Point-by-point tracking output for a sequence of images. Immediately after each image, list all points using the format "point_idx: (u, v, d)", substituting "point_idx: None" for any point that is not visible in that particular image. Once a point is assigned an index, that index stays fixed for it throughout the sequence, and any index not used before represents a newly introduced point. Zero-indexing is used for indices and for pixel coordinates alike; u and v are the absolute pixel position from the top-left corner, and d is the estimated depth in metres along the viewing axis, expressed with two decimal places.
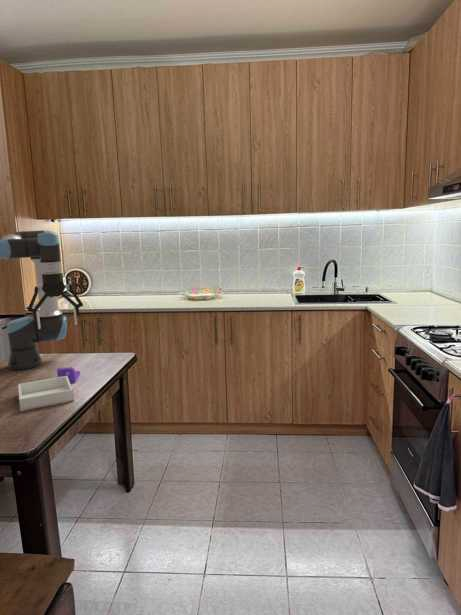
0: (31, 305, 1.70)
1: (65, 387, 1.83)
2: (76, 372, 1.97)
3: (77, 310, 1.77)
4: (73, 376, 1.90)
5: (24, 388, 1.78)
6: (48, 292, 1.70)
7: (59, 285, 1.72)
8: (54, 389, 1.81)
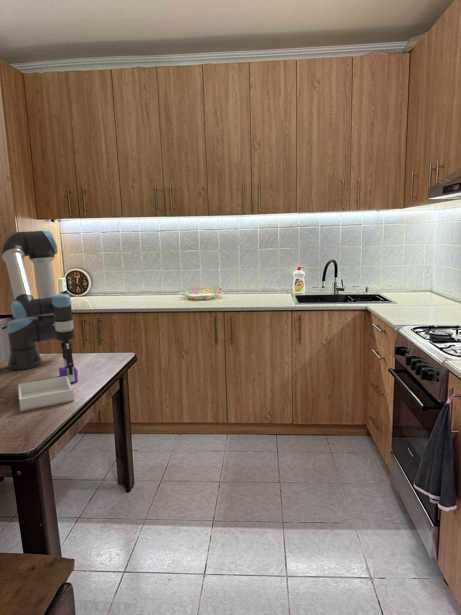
0: (62, 352, 2.01)
1: (65, 387, 1.83)
2: None
3: (68, 369, 1.87)
4: (75, 375, 1.90)
5: (24, 388, 1.78)
6: (61, 345, 1.94)
7: (63, 342, 1.90)
8: (54, 389, 1.81)
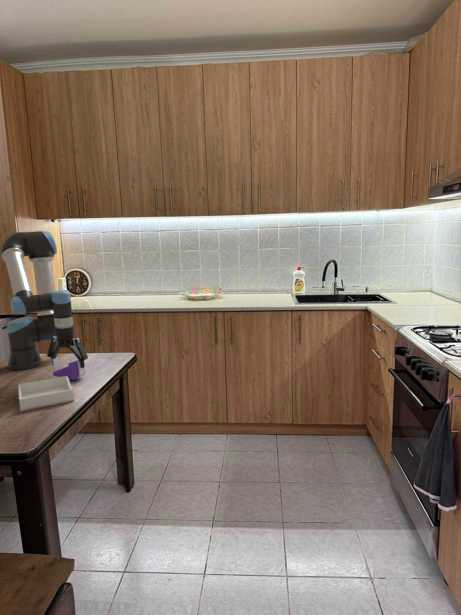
0: (49, 352, 1.95)
1: (65, 387, 1.83)
2: None
3: (81, 363, 1.91)
4: None
5: (24, 388, 1.78)
6: (59, 343, 1.92)
7: (67, 338, 1.91)
8: (54, 389, 1.81)
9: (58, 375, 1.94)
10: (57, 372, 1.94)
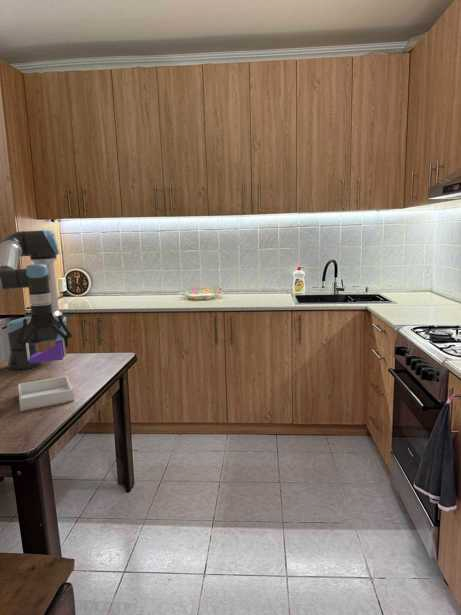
0: (20, 337, 1.69)
1: (65, 387, 1.83)
2: None
3: (66, 341, 1.76)
4: None
5: (24, 388, 1.78)
6: (37, 324, 1.70)
7: (48, 316, 1.72)
8: (54, 389, 1.81)
9: (38, 360, 1.71)
10: (37, 357, 1.71)
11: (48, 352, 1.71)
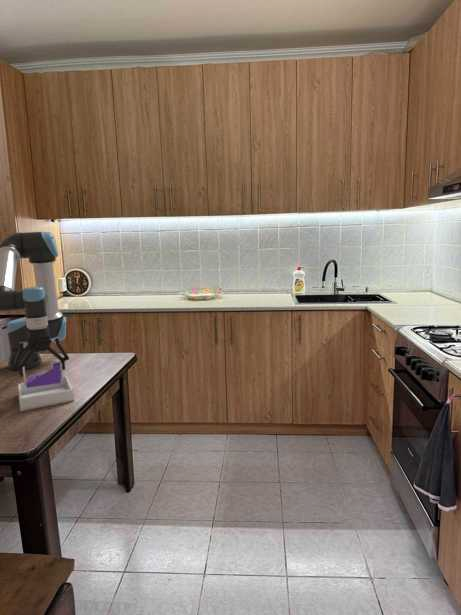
0: (17, 361, 1.66)
1: (65, 387, 1.83)
2: (38, 375, 1.74)
3: (63, 364, 1.74)
4: None
5: (24, 388, 1.78)
6: (34, 347, 1.68)
7: (45, 339, 1.70)
8: (54, 389, 1.81)
9: (36, 384, 1.69)
10: (34, 381, 1.68)
11: (46, 376, 1.69)
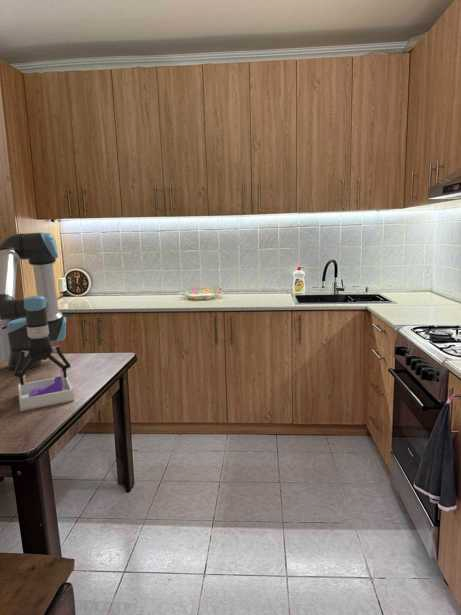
0: (18, 370, 1.67)
1: (65, 387, 1.83)
2: (40, 389, 1.75)
3: (64, 372, 1.75)
4: (61, 384, 1.78)
5: (24, 388, 1.78)
6: (35, 356, 1.68)
7: (46, 348, 1.70)
8: None
9: None
10: None
11: (48, 390, 1.70)
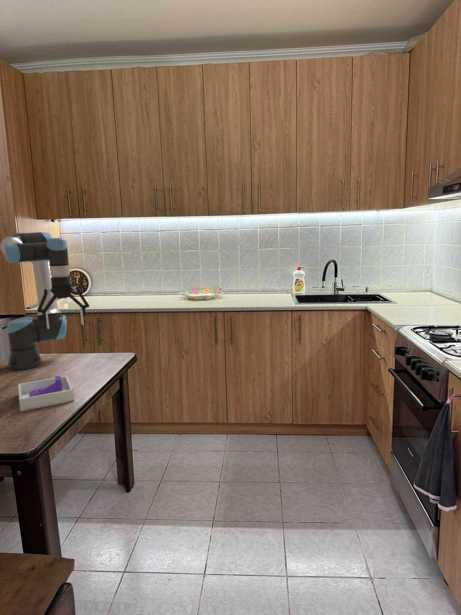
0: (41, 306, 1.80)
1: (65, 387, 1.83)
2: (40, 389, 1.75)
3: (84, 311, 1.87)
4: None
5: (24, 388, 1.78)
6: (57, 294, 1.81)
7: (67, 287, 1.83)
8: None
9: None
10: (37, 395, 1.70)
11: (49, 390, 1.71)
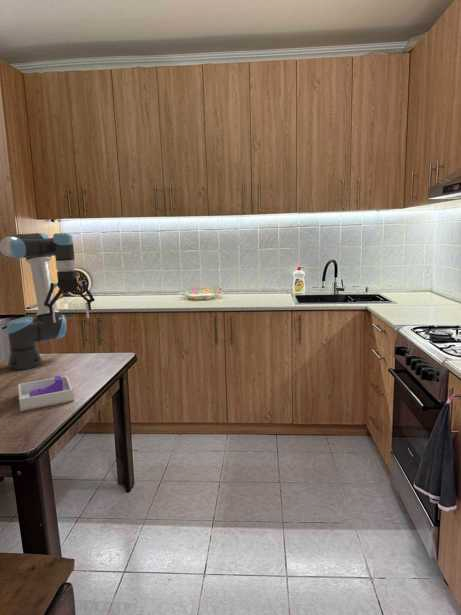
0: (47, 300, 1.83)
1: (65, 387, 1.83)
2: (40, 389, 1.75)
3: (89, 305, 1.91)
4: None
5: (24, 388, 1.78)
6: (63, 288, 1.84)
7: (73, 281, 1.86)
8: None
9: None
10: None
11: (49, 389, 1.71)
